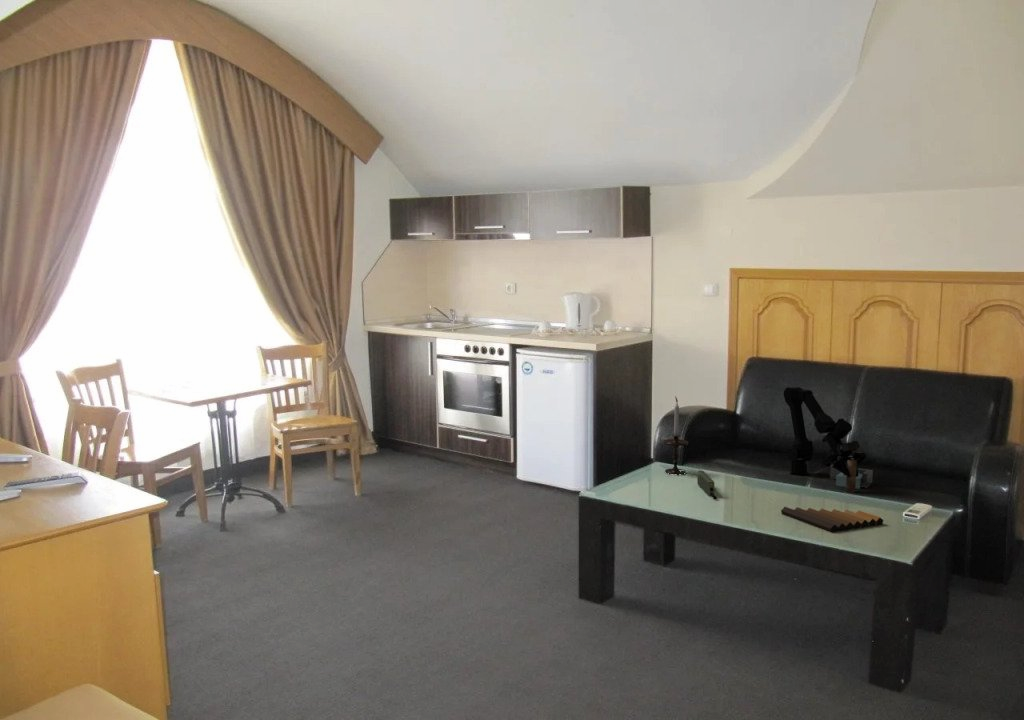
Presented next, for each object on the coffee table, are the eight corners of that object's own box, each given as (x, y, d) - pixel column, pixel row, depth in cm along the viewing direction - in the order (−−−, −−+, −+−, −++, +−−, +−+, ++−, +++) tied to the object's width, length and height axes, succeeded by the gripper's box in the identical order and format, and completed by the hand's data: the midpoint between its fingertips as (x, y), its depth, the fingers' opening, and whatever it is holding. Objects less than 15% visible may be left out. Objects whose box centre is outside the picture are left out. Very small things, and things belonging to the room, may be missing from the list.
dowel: (844, 491, 358) (846, 460, 357) (847, 489, 361) (848, 459, 360) (854, 493, 356) (855, 461, 355) (856, 491, 359) (857, 460, 358)
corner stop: (825, 482, 374) (825, 468, 373) (831, 478, 382) (831, 464, 381) (866, 488, 364) (867, 474, 363) (872, 483, 372) (872, 470, 371)
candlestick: (659, 473, 389) (660, 396, 386) (669, 469, 398) (670, 393, 395) (681, 476, 383) (683, 398, 380) (691, 472, 392) (693, 395, 389)
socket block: (835, 485, 369) (836, 475, 369) (842, 481, 377) (842, 471, 376) (859, 489, 363) (859, 478, 363) (865, 484, 371) (865, 474, 371)
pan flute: (780, 515, 324) (830, 534, 302) (781, 507, 324) (830, 524, 301) (831, 508, 334) (883, 525, 312) (832, 499, 334) (883, 516, 311)
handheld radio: (704, 485, 369) (719, 500, 344) (696, 485, 369) (711, 501, 344) (704, 470, 368) (719, 484, 343) (696, 470, 368) (710, 484, 343)
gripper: (827, 435, 357) (845, 467, 348) (864, 432, 363) (882, 464, 354) (814, 450, 365) (831, 482, 356) (850, 447, 371) (867, 478, 362)
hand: (853, 476), depth 357 cm, fingers closed on dowel, 4 cm apart
